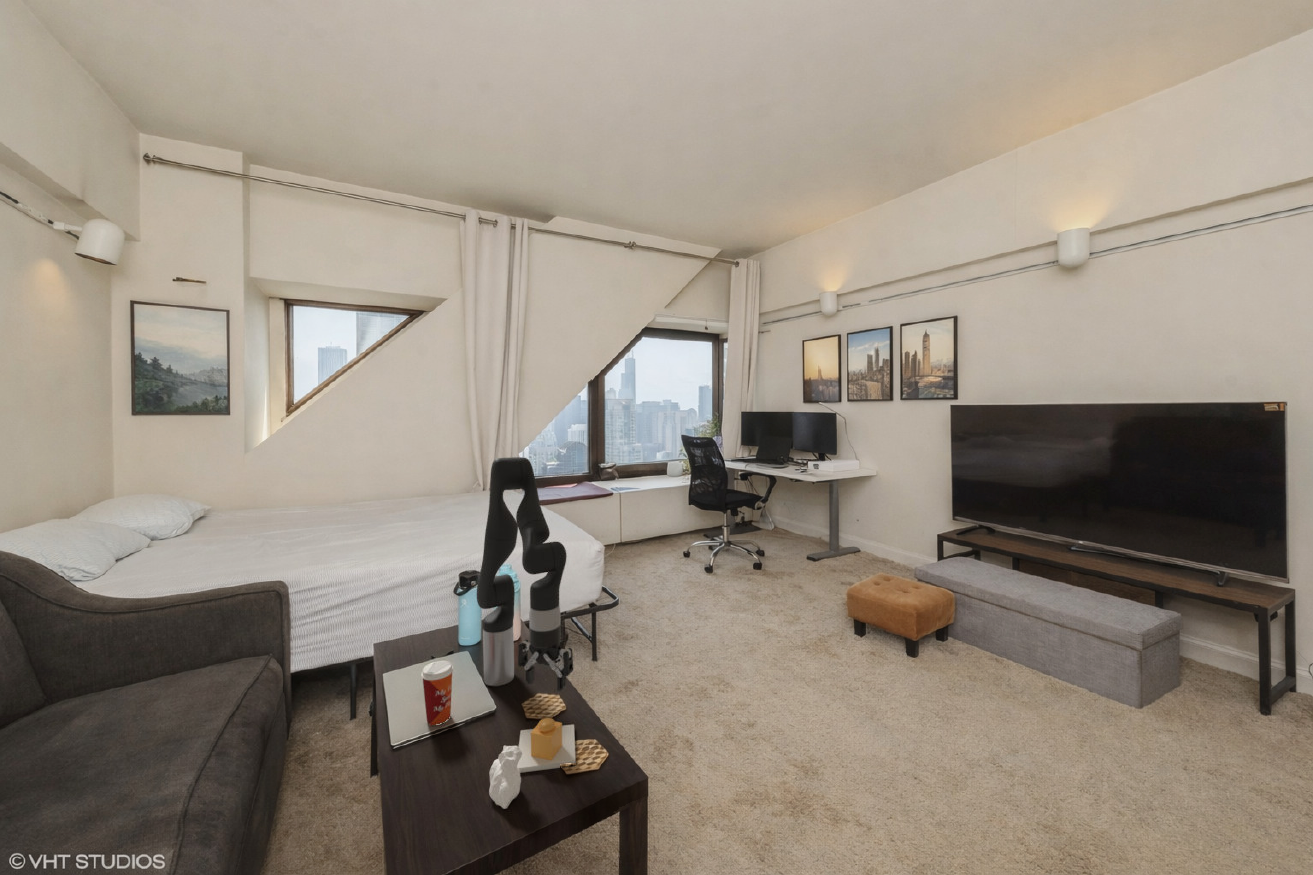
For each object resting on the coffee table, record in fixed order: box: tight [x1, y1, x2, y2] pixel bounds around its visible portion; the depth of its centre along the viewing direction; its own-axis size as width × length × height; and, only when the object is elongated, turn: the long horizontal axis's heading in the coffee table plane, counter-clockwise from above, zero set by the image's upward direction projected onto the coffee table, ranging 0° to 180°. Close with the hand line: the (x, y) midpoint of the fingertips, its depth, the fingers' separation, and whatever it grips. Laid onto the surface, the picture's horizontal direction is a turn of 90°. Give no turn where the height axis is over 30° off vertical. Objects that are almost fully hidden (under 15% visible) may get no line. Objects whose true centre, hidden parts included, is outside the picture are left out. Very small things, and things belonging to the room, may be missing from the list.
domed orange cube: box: [531, 717, 563, 761], centre depth 125 cm, size 6×6×7 cm
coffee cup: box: [420, 660, 454, 726], centre depth 139 cm, size 8×8×15 cm
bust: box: [488, 745, 522, 810], centre depth 113 cm, size 12×8×11 cm
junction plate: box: [517, 724, 576, 774], centre depth 127 cm, size 15×14×6 cm
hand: (545, 686), depth 124 cm, fingers open, 8 cm apart
